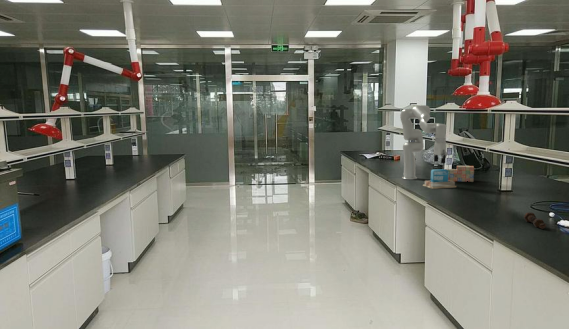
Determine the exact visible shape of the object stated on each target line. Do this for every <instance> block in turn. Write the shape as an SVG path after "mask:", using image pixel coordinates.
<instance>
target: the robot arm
mask: <svg viewBox="0 0 570 329" xmlns="http://www.w3.org/2000/svg"><path fill="white" fill-rule="evenodd" d="M430 113H431V107H430V106H428V105H422V104H421V105H415V106H413V108H412V107H411V108H404V109H402V110H401V112H400V122H401V125H402V135H403V139H404V140H405V141H407V142H404V144H403V145H402V152H403V176H401V178H402V179H403V180H417V179H418V177H417V176H416V156H415V154H418V153H421V152H423V151H424V138H423V132H424V133H426V134H435V136H434V137H435V138H434V145H433V150H432V152H433V153H432V154H433V161H434V162H439V156H440V157H441V159H440V163H441V164H446V159H447V155H448V153H447V144H446V141H447V140H446V139H447V124H445V123H438V122H431V123H428V121H430V119H431V115H430ZM411 119H418V121H419V127H420V129H419V128H418V129H417V128H414V125H413V124H414V123H413V122H412V120H411ZM422 131H423V132H422Z"/></svg>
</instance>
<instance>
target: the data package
mask: <svg viewBox="0 0 570 329" xmlns="http://www.w3.org/2000/svg"><path fill="white" fill-rule="evenodd" d="M445 169H446V168H442V169H435V168H434V169H430V180H431V182H433V183H435V182H448V170H445Z"/></svg>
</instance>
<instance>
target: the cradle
mask: <svg viewBox="0 0 570 329" xmlns="http://www.w3.org/2000/svg"><path fill="white" fill-rule="evenodd" d="M455 184H456V181H451V180H448V182H435V183H433V182H431V179H430V180H424V183H423V184H422V186H423V187H426V188H429V189H433V190H435V189H446V188H447V189H449V188H457V185H455Z"/></svg>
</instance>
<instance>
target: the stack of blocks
mask: <svg viewBox="0 0 570 329" xmlns="http://www.w3.org/2000/svg"><path fill="white" fill-rule="evenodd" d="M444 169H445V170H448V180H451V181H454V182H467V181H468V182H471V183H473V182H474V179H475V178H474V177H475V176H474V175H475V167H474V165H456V169H455V168H444Z"/></svg>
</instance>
